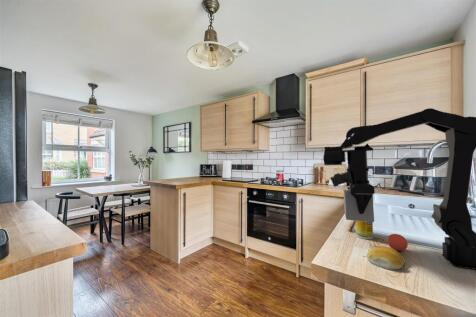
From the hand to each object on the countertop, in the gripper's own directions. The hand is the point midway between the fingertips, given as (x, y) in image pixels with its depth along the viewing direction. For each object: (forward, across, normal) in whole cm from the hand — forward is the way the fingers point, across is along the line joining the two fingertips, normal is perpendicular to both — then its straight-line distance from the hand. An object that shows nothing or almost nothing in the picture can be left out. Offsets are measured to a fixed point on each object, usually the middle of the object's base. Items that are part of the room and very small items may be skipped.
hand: (359, 210), depth 67 cm
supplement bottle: (+12, -9, +2) cm, 15 cm away
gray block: (+2, 0, 0) cm, 2 cm away
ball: (+9, 0, +10) cm, 14 cm away
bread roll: (+12, +10, +5) cm, 16 cm away
